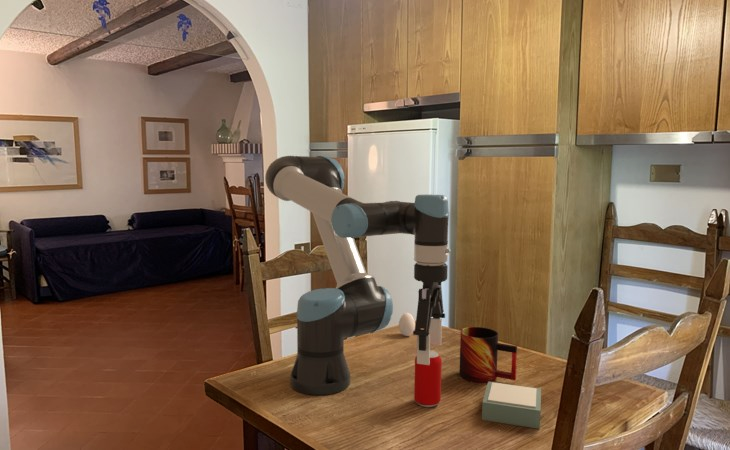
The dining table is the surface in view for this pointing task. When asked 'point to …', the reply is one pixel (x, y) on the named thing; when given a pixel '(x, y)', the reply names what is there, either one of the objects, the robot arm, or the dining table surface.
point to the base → (512, 404)
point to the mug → (483, 356)
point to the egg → (406, 324)
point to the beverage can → (428, 381)
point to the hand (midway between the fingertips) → (429, 354)
